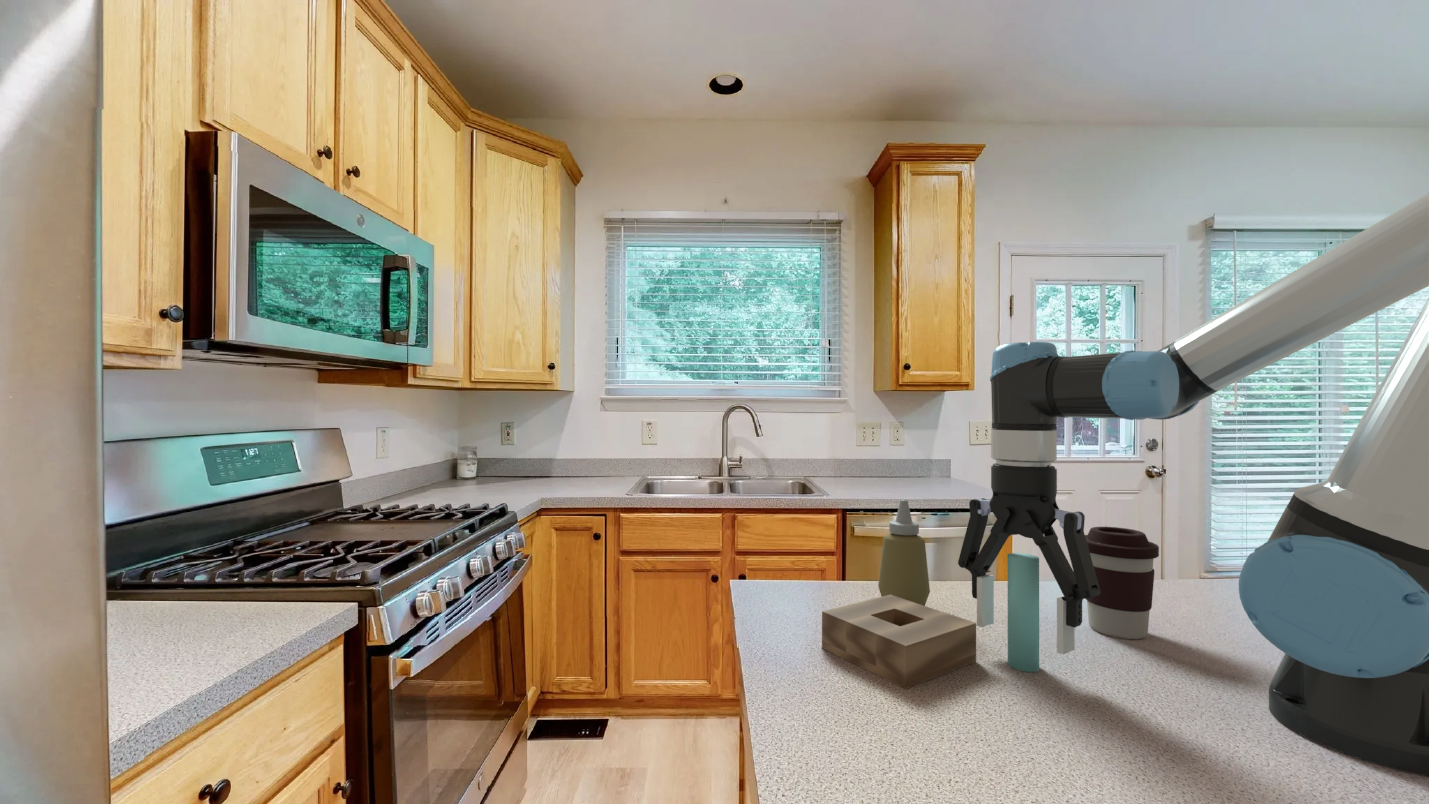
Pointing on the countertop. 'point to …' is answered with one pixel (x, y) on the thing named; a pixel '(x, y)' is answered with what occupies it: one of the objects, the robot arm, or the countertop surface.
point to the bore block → (899, 639)
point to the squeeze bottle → (904, 560)
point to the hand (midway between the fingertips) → (1023, 637)
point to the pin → (1023, 612)
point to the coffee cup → (1121, 581)
